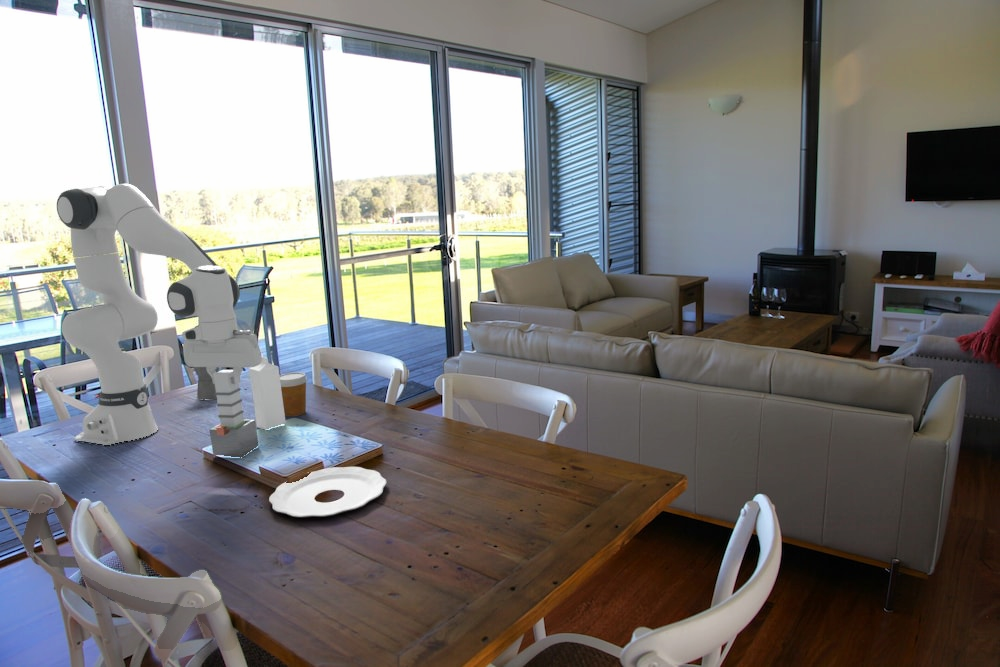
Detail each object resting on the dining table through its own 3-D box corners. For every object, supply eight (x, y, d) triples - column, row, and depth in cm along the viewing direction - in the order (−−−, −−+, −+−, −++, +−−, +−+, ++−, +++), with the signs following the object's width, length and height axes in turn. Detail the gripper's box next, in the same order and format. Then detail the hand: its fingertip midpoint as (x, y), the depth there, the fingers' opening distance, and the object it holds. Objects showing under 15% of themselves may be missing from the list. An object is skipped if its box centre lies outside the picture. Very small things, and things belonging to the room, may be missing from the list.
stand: (196, 466, 174) (190, 429, 172) (229, 446, 187) (224, 411, 185) (245, 468, 170) (240, 430, 168) (275, 447, 184) (271, 412, 182)
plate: (328, 534, 135) (327, 525, 135) (246, 509, 149) (245, 501, 148) (409, 485, 156) (408, 477, 156) (330, 467, 169) (329, 459, 169)
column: (220, 434, 176) (212, 374, 172) (231, 428, 180) (222, 369, 177) (236, 434, 175) (227, 374, 171) (246, 428, 179) (237, 369, 176)
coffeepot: (194, 403, 229) (186, 351, 225) (188, 397, 237) (180, 347, 233) (241, 393, 238) (234, 343, 234) (234, 388, 245) (227, 339, 242)
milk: (267, 435, 194) (257, 360, 189) (257, 431, 198) (246, 357, 193) (287, 429, 198) (277, 355, 194) (276, 425, 202) (266, 353, 198)
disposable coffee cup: (277, 411, 215) (272, 375, 213) (308, 406, 219) (303, 370, 216) (281, 420, 207) (276, 382, 204) (313, 414, 210) (309, 377, 208)
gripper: (262, 327, 172) (269, 380, 175) (192, 328, 177) (200, 379, 180) (248, 332, 166) (255, 387, 169) (176, 333, 171) (184, 386, 174)
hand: (226, 383), depth 175 cm, fingers closed on column, 4 cm apart
